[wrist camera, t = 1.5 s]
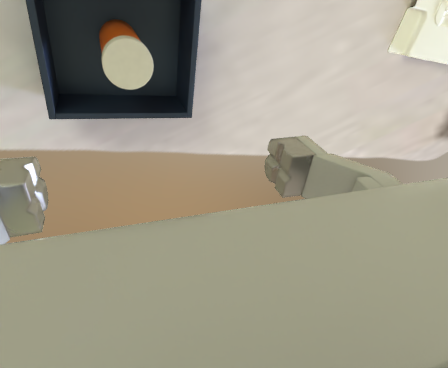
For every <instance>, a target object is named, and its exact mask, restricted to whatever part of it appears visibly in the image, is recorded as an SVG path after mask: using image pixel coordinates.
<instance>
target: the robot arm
mask: <svg viewBox="0 0 448 368" xmlns="http://www.w3.org/2000/svg"><path fill="white" fill-rule="evenodd" d="M268 151H269V153H270V155H269V156H268V157H267V158H266V160H265V173H266V176H267V178H268V179H269V181H271V182H273V183H275V189H276V190H277V191H278V192H279V194H280V195H281V196H282V197H291V196H300V195H302V197H304V198H305V199H302V200H295V201H288V202H282V203H276V204H269V205H261V206H255V207H249V208H242V209H235V210H229V211H222V212H215V213H208V214H201V215H195V216H188V217H181V218H175V219H168V220H161V221H155V222H148V223H142V224H135V225H128V226H121V227H114V228H108V229H102V230H94V231H88V232H81V233H74V234H69V235H61V236H54V237H48V238H41V239H34V240H28V241H21V242H15V243H8V244H5V243H6V242H7V241H8V240H9V239H10V237H16V236H21V235H28V234H33V233H39V232H42V229H43V225H44V220H45V216H44V213H43V211H45V210H46V209H47V205H48V192H47V187H46V183H45V181H44V180H43V179H42V178H40V177H39V175H40V171H41V167H40V164H39V162H38V160H37V158H36V157H23V158H7V159H0V368H448V178H443V179H435V180H429V181H422V182H415V183H409V184H403V183H401V182H400V181H398V180H397V179H396V178H395V177H393V176H392V175H391V174H389V173H387V172H384V171H381V170H378V169H376V168H373V167H370V166H367V165H364V164H361V163H358V162H355V161H352V160H349V159H346V158H343V157H340V156H337V155H334V154H328V153H327V152H326V151H324V150H323V149H322V148H321V147H320V146H318V145H317V144H316V143H315V142H314V141H312V140H311V139H310V138H309V137H308V136H298V137H287V138H277V139H271V140H270V142H269V145H268Z"/></svg>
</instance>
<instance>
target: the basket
mask: <svg viewBox="0 0 448 368" xmlns="http://www.w3.org/2000/svg"><path fill="white" fill-rule="evenodd" d="M26 4H27V9H28V14H29V19H30V24H31V29H32V34H33V39H34V44H35V49H36V54H37V59H38V64H39V69H40V74H41V79H42V84H43V89H44V94H45V99H46V105H47V110H48V115H49V119H110V118H186V117H187V118H192V108H193V95H194V83H195V71H196V59H197V47H198V34H199V22H200V10H201V0H26ZM114 19H118V20H122V21H124V22H126V23H128V24H129V25H130V26H131V27H132V28H133V30H134V31H135V33H136V34H137V36H138V37H139V39H140V41H141V42H142V43H143V44H144V45H145V46H146V48H147V49H148V51H149V52H150V54H151V56H152V59H153V65H154V68H153V73H152V76H151V78H150V80H149V81H148V82H147V83H146V84H145V85H144V86H142V87H140V88H138V89H133V90H127V89H122V88H120V87H118V86H116V85H114V84H113V83H112V82H111V81H110V80H109V79H108V78H107V76H106V75H105V73H104V70H103V67H102V58H101V57H102V52H101V46H100V40H99V32H100V29H101V27H102V26H103V25H104V24H105V23H106V22H107V21H109V20H114Z"/></svg>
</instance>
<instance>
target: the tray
mask: <svg viewBox="0 0 448 368" xmlns="http://www.w3.org/2000/svg"><path fill="white" fill-rule="evenodd" d="M388 52H391V53H396V54H401V55H405V56H408V57H413V58H418V59H423V60H428V61H432V62H437V63H443V64H447V65H448V0H417V2H416V4H415V6H414V7H409V8H408V9H407V11H406V13H405V15H404V17H403V19H402V22H401V24H400V26H399V28H398V30H397V32H396V35H395V37H394V39H393V41H392V43H391V45H390V48H389V50H388Z"/></svg>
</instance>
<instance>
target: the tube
mask: <svg viewBox="0 0 448 368" xmlns="http://www.w3.org/2000/svg"><path fill="white" fill-rule="evenodd" d="M99 40H100V46H101V52H102V57H101V58H102V67H103V70H104V73H105V75H106V76H107V78H108V79H109V80H110V81H111V82H112V83H113V84H114V85H116V86H118V87H120V88H122V89H127V90H133V89H138V88H140V87H142V86H144V85H145V84H146V83H147V82H148V81H149V80H150V78H151V76H152V73H153V68H154V65H153V59H152V56H151V54H150V52H149V51H148V49H147V48H146V46H145V45H144V44H143V43H142V42H141V41H140V39H139V37H138V36H137V34H136V33H135V31H134V30H133V28H132V27H131V26H130V25H129V24H128V23H126V22H124V21H122V20H118V19H114V20H109V21H107V22H106V23H105V24H104V25H103V26H102V27H101V29H100V32H99Z"/></svg>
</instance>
